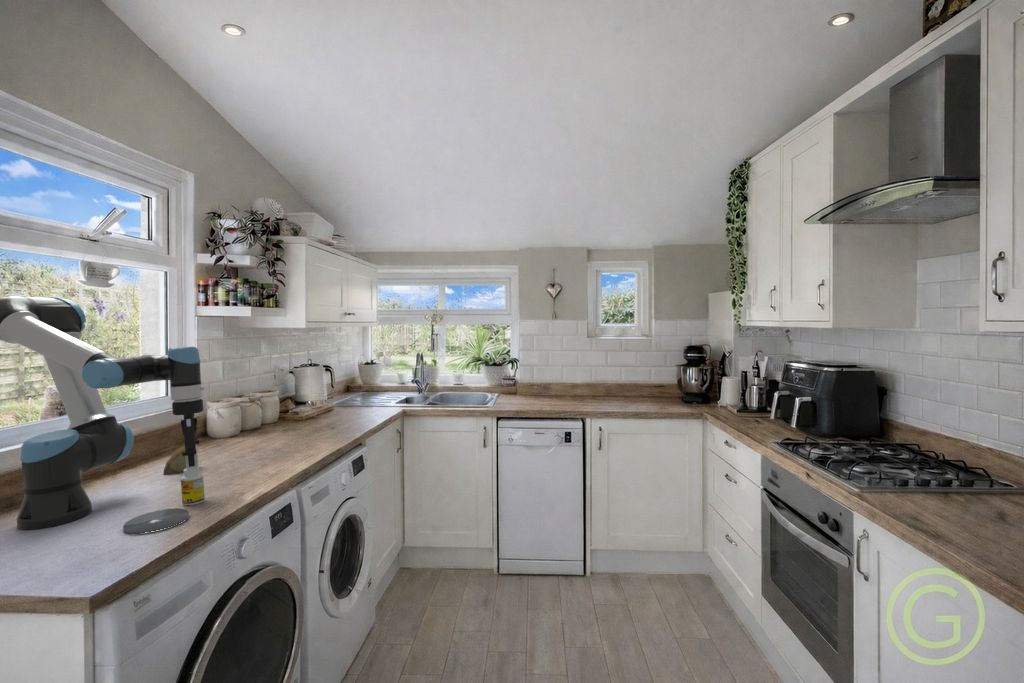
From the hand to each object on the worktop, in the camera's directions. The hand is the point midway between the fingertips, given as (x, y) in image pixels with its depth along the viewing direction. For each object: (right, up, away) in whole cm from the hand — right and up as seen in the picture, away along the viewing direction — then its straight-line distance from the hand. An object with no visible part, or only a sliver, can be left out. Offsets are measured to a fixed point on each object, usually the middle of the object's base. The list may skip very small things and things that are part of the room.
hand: (193, 471), depth 144 cm
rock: (-27, -9, +34) cm, 44 cm away
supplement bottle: (0, -9, 0) cm, 9 cm away
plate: (0, -10, -14) cm, 17 cm away
